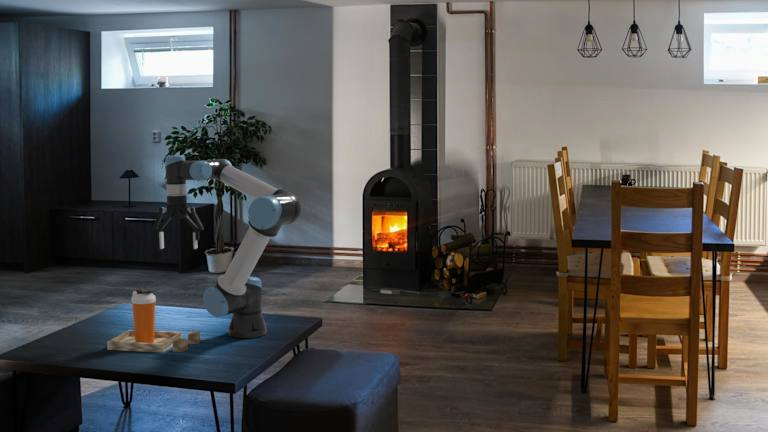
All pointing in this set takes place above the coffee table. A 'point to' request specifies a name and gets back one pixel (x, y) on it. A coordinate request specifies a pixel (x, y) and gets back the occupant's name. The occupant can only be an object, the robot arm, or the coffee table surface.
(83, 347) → the coffee table surface
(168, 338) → the tray
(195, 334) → the oak block
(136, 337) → the shaker bottle
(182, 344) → the oak block
